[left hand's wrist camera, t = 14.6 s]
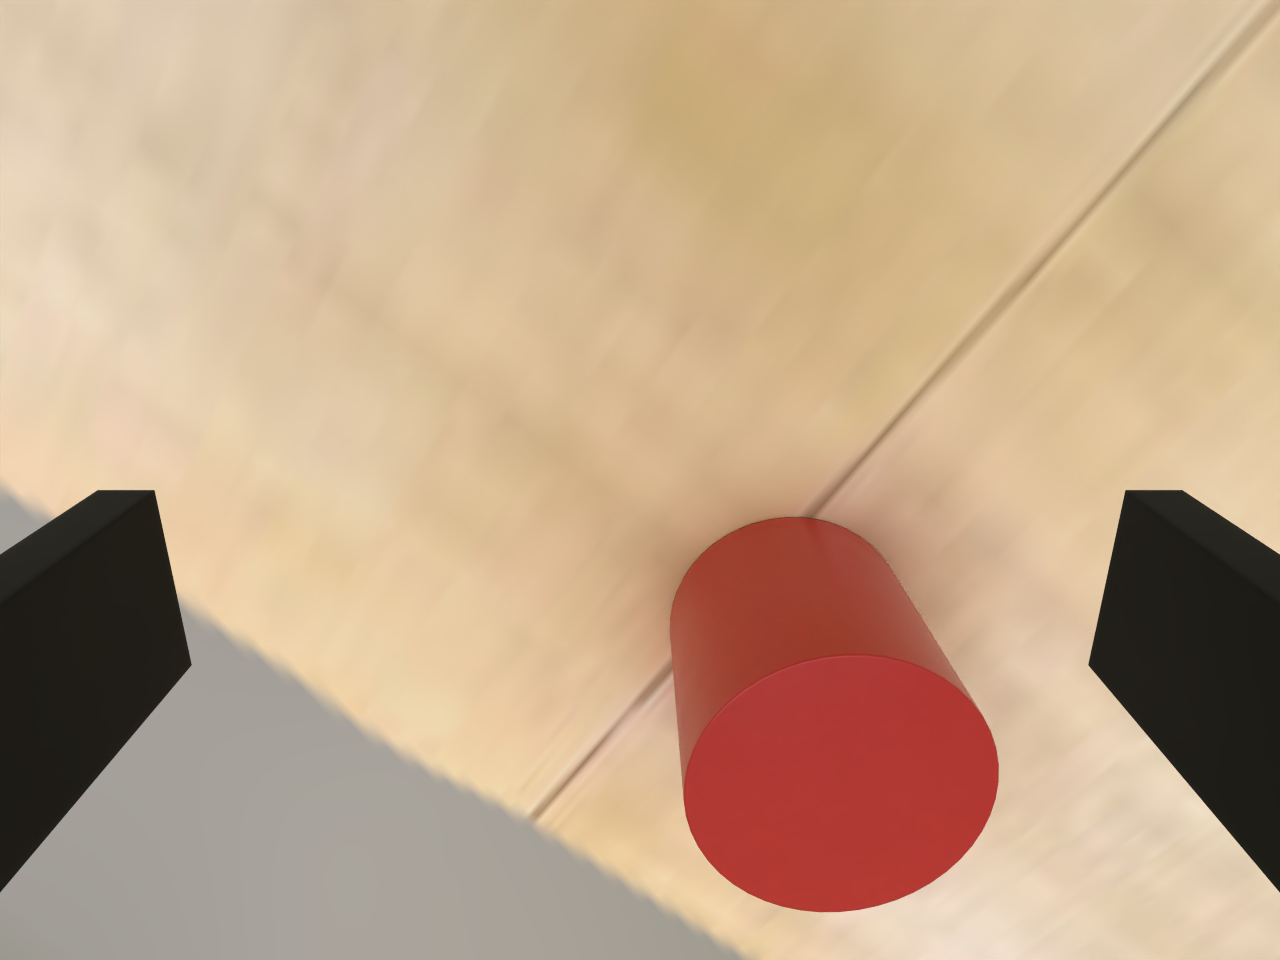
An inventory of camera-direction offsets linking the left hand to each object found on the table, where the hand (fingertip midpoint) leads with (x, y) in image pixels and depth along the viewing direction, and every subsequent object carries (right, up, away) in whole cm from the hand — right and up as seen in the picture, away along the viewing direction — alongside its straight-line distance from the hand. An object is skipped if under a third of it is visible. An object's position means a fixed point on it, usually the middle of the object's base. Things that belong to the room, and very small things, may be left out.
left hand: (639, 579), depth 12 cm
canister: (+6, -4, +21) cm, 22 cm away
